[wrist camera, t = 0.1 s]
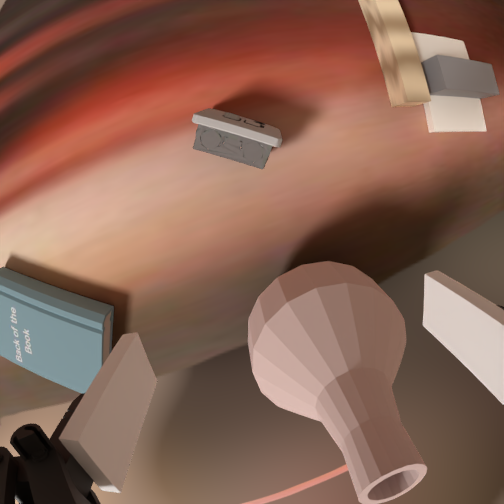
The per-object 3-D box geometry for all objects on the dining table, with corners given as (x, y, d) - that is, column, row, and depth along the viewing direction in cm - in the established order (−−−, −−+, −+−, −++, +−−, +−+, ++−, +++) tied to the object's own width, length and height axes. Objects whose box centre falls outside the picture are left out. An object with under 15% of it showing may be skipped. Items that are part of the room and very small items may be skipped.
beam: (346, -26, 31) (355, -42, 26) (368, -24, 30) (379, -39, 26) (390, 107, 37) (407, 101, 32) (413, 106, 36) (431, 101, 32)
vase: (276, 227, 40) (364, 361, 11) (385, 272, 42) (532, 393, 13) (228, 338, 44) (220, 533, 15) (332, 369, 46) (400, 528, 17)
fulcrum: (403, 35, 33) (424, 20, 27) (458, 43, 33) (480, 33, 27) (429, 132, 37) (454, 128, 31) (480, 131, 37) (506, 129, 31)
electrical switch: (280, 129, 37) (288, 124, 28) (267, 166, 39) (272, 173, 30) (209, 108, 36) (197, 97, 27) (197, 145, 38) (181, 146, 29)
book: (12, 342, 44) (-1, 354, 39) (6, 265, 40) (-12, 274, 35) (111, 383, 46) (102, 400, 41) (115, 303, 42) (102, 318, 37)
